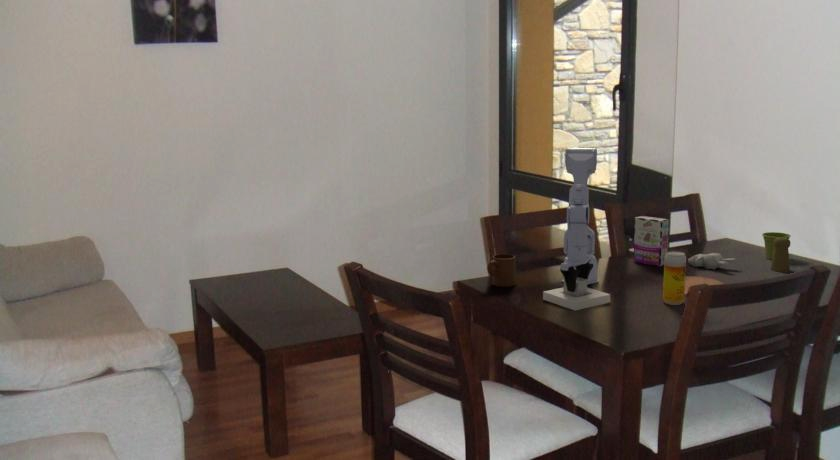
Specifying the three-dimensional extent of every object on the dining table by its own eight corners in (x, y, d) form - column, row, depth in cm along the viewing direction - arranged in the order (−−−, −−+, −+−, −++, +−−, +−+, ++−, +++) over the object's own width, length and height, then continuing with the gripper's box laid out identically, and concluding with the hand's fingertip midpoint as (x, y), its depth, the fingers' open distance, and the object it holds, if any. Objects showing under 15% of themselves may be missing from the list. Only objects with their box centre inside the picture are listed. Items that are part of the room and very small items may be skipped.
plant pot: (754, 257, 298) (756, 233, 297) (773, 254, 302) (775, 231, 300) (775, 262, 290) (777, 238, 288) (794, 259, 294) (796, 235, 292)
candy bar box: (668, 264, 290) (670, 218, 286) (660, 267, 286) (662, 221, 283) (640, 259, 298) (642, 215, 294) (632, 262, 294) (634, 216, 291)
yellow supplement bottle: (680, 306, 241) (683, 256, 238) (660, 303, 244) (662, 254, 241) (686, 301, 246) (688, 252, 243) (665, 298, 249) (668, 250, 246)
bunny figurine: (697, 250, 292) (738, 252, 282) (698, 265, 293) (738, 267, 282) (683, 255, 286) (724, 257, 275) (684, 270, 287) (725, 272, 276)
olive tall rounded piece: (770, 271, 279) (772, 239, 276) (770, 267, 284) (772, 235, 282) (790, 272, 276) (792, 240, 274) (789, 268, 282) (791, 236, 280)
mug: (497, 291, 260) (497, 262, 258) (479, 287, 265) (478, 259, 263) (520, 284, 268) (520, 255, 267) (501, 280, 273) (501, 252, 272)
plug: (571, 294, 252) (573, 275, 251) (586, 298, 249) (587, 279, 247) (562, 298, 249) (563, 279, 247) (577, 302, 245) (578, 283, 244)
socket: (577, 292, 258) (577, 281, 257) (609, 302, 246) (610, 291, 246) (543, 299, 251) (543, 289, 250) (575, 310, 239) (575, 299, 238)
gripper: (578, 239, 253) (577, 281, 256) (552, 247, 242) (551, 291, 245) (599, 242, 248) (598, 285, 251) (573, 250, 238) (572, 296, 240)
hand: (576, 289), depth 248 cm, fingers open, 5 cm apart
